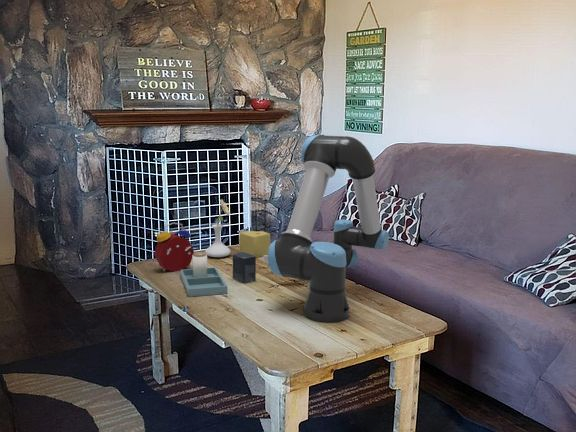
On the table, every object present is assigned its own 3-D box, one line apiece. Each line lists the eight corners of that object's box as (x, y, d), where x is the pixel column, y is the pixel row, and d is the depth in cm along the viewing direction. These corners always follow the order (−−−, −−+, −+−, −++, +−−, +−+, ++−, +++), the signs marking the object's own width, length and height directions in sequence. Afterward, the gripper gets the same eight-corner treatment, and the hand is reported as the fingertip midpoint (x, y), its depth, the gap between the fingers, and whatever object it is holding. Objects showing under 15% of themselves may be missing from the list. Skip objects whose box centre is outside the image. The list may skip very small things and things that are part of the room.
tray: (227, 294, 211) (227, 286, 211) (188, 297, 207) (188, 289, 207) (216, 274, 234) (215, 267, 233) (180, 276, 230) (180, 269, 229)
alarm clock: (188, 265, 244) (187, 219, 240) (197, 271, 237) (196, 223, 233) (154, 271, 236) (152, 223, 232) (162, 277, 229) (160, 227, 225)
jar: (208, 279, 225) (208, 254, 223) (193, 280, 224) (193, 255, 222) (206, 274, 231) (205, 250, 229) (191, 276, 229) (191, 251, 227)
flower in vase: (222, 260, 252) (221, 203, 247) (200, 257, 257) (199, 201, 252) (237, 253, 264) (237, 198, 259) (215, 250, 269) (215, 196, 264)
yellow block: (257, 250, 271) (257, 228, 269) (271, 255, 263) (271, 233, 260) (238, 253, 264) (238, 232, 262) (252, 259, 256) (253, 236, 254)
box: (256, 282, 225) (256, 255, 223) (243, 285, 221) (243, 258, 219) (244, 277, 231) (244, 251, 228) (232, 280, 227) (232, 253, 225)
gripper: (330, 278, 222) (276, 283, 216) (309, 260, 246) (260, 264, 240) (330, 259, 221) (276, 263, 215) (309, 243, 244) (260, 246, 238)
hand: (267, 263), depth 227 cm, fingers open, 13 cm apart
